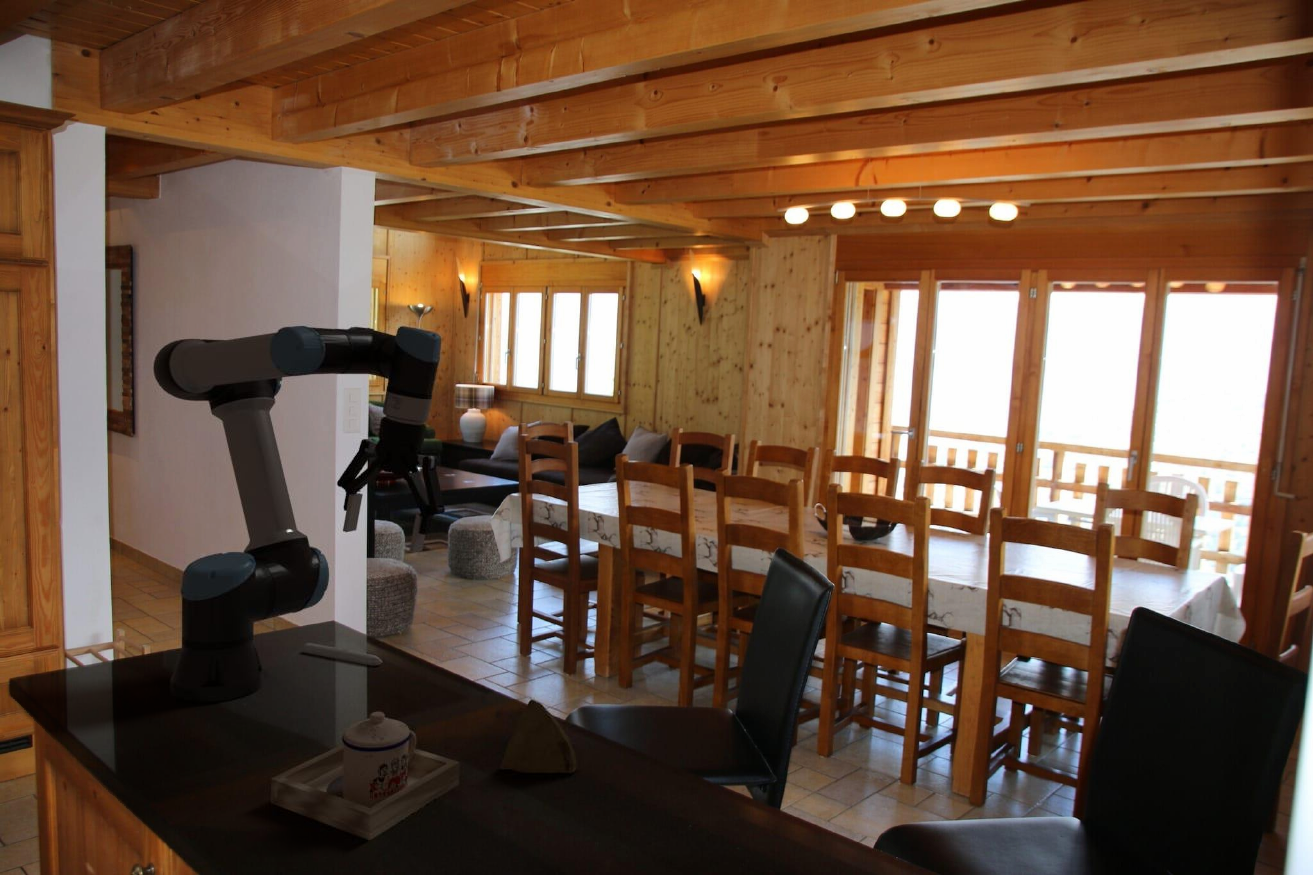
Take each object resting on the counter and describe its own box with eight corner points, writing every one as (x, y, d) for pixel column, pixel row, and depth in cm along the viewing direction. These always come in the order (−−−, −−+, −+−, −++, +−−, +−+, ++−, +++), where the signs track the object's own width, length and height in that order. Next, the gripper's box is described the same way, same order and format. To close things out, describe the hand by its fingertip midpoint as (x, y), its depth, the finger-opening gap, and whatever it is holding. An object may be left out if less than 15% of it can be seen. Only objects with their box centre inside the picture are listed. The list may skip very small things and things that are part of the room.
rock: (595, 751, 146) (549, 724, 151) (580, 720, 140) (533, 693, 146) (551, 809, 140) (505, 778, 146) (533, 779, 135) (486, 749, 140)
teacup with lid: (374, 817, 125) (376, 732, 123) (326, 797, 129) (328, 716, 128) (436, 782, 135) (439, 704, 134) (390, 765, 139) (392, 690, 138)
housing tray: (270, 802, 129) (271, 778, 128) (365, 754, 145) (366, 733, 144) (369, 840, 121) (370, 814, 120) (458, 785, 137) (459, 762, 137)
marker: (385, 665, 184) (385, 654, 184) (379, 669, 182) (379, 657, 182) (310, 651, 190) (310, 640, 190) (303, 654, 188) (303, 643, 188)
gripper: (329, 403, 158) (308, 524, 160) (456, 437, 150) (431, 564, 152) (357, 403, 165) (336, 519, 167) (479, 435, 157) (456, 557, 160)
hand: (382, 541), depth 160 cm, fingers open, 13 cm apart
